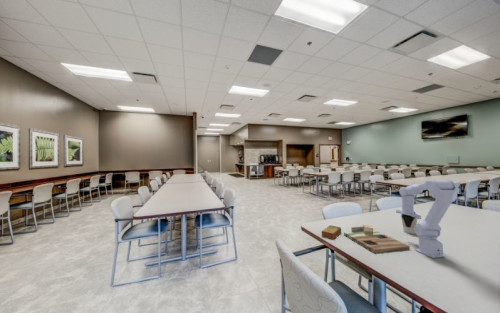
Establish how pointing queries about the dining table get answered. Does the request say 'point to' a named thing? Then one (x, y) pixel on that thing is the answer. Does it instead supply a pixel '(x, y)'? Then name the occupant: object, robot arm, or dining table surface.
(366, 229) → the block
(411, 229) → the coffee cup
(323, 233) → the carton
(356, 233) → the board
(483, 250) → the dining table surface
